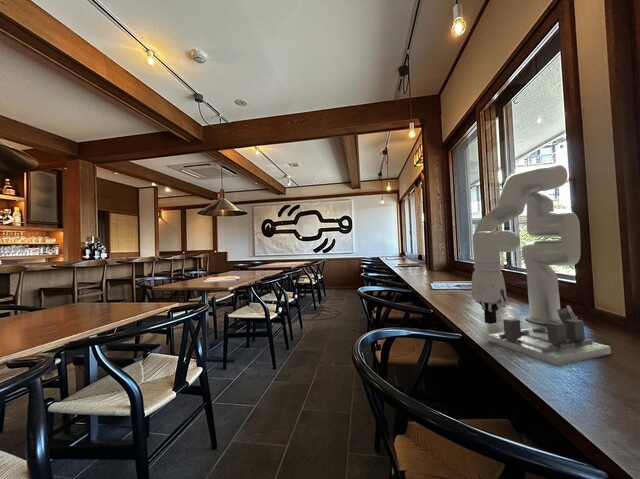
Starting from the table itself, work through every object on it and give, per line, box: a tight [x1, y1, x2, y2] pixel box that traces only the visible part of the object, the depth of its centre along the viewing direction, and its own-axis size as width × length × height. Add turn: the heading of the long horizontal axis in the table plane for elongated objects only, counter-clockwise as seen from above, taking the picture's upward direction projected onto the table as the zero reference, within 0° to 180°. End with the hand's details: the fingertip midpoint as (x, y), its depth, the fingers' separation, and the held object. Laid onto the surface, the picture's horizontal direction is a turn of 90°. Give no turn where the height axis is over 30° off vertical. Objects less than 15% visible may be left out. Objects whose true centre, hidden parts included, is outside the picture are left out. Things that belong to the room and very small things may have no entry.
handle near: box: [565, 319, 586, 341], centre depth 81 cm, size 4×3×6 cm
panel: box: [487, 326, 612, 367], centre depth 83 cm, size 20×21×3 cm
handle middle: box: [546, 322, 567, 345], centre depth 80 cm, size 4×3×6 cm
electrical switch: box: [557, 304, 579, 323], centre depth 92 cm, size 9×5×9 cm, turn 141°
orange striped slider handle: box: [502, 317, 522, 340], centre depth 86 cm, size 4×3×6 cm
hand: (490, 322), depth 93 cm, fingers closed
